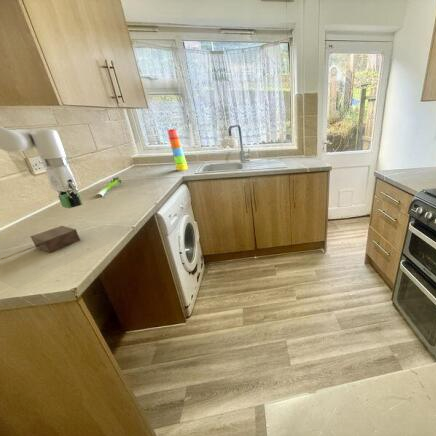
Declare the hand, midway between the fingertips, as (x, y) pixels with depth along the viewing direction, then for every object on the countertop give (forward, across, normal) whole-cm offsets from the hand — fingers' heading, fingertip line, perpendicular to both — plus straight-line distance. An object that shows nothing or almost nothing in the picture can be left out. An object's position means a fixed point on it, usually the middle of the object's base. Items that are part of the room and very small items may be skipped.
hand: (72, 204), depth 104 cm
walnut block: (+12, +6, -12) cm, 18 cm away
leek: (+12, -50, +44) cm, 68 cm away
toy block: (0, 0, 0) cm, 0 cm away
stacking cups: (+11, -50, +106) cm, 118 cm away
